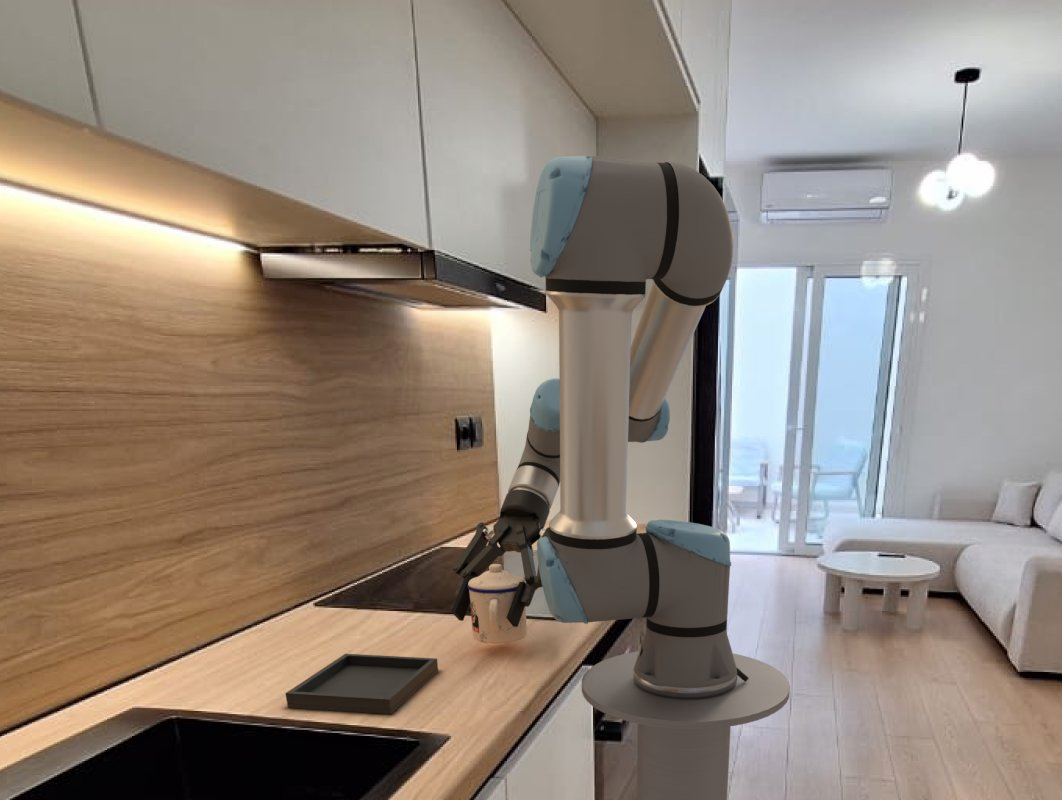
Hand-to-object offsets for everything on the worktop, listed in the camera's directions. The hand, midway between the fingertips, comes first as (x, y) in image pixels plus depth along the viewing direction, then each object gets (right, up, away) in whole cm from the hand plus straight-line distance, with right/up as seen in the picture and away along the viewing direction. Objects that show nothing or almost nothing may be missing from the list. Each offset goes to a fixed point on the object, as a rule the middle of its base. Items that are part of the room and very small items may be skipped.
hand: (484, 619), depth 125 cm
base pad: (-15, -11, -11) cm, 21 cm away
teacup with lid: (+2, -3, +4) cm, 5 cm away
